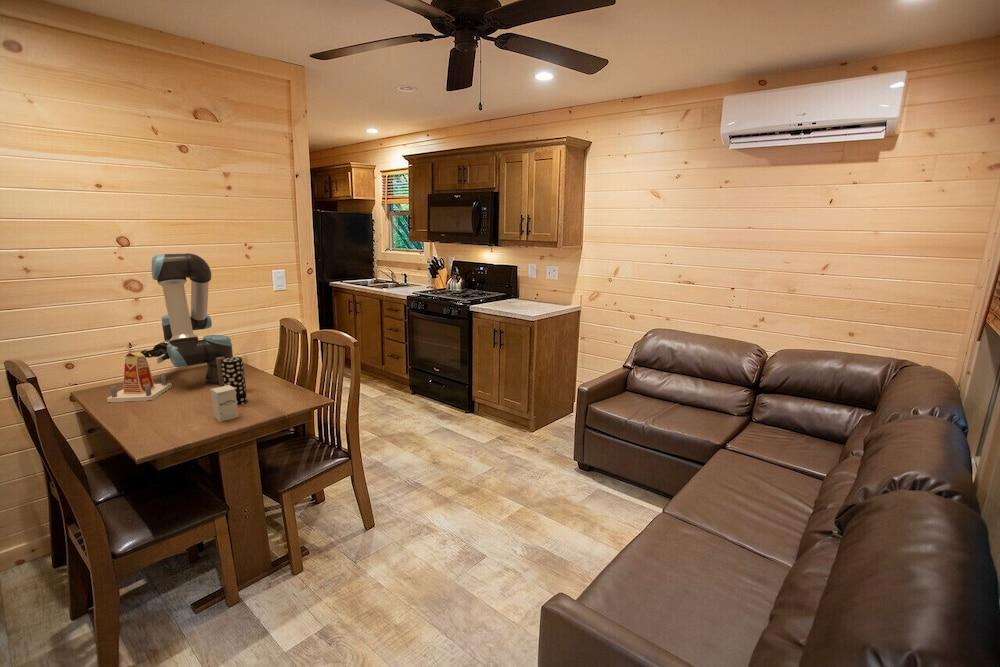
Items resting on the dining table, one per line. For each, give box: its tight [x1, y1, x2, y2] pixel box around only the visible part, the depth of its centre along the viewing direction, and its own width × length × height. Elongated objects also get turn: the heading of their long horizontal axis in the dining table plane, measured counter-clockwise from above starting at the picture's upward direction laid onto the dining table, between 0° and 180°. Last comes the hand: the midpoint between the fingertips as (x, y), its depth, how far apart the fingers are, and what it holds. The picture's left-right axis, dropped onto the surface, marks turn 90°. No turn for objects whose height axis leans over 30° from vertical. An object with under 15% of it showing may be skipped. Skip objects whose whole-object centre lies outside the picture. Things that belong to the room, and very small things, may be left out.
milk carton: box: [123, 349, 155, 394], centre depth 224 cm, size 9×9×20 cm
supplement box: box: [209, 385, 239, 423], centre depth 200 cm, size 7×7×13 cm
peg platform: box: [106, 373, 173, 403], centre depth 225 cm, size 18×18×7 cm
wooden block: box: [216, 357, 247, 390], centre depth 227 cm, size 4×11×18 cm, turn 134°
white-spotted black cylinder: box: [220, 356, 248, 406], centre depth 215 cm, size 8×8×20 cm
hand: (141, 361), depth 228 cm, fingers open, 13 cm apart
